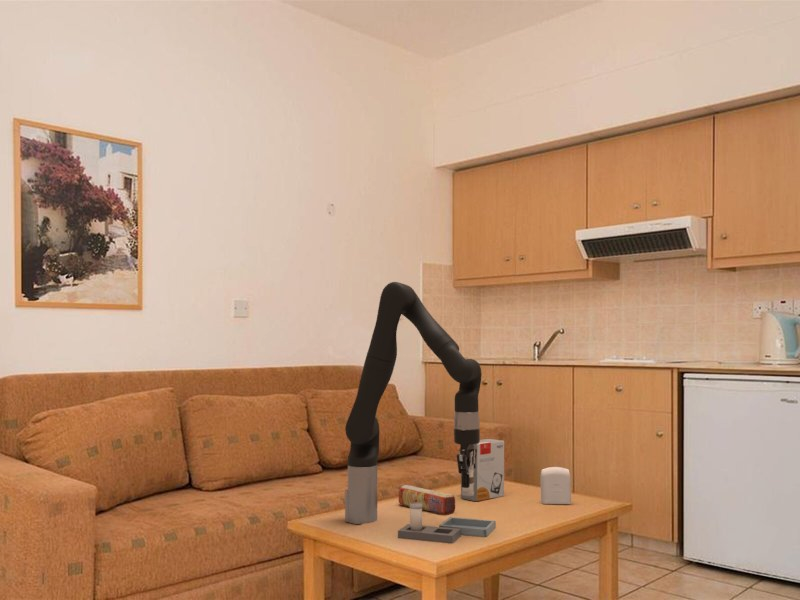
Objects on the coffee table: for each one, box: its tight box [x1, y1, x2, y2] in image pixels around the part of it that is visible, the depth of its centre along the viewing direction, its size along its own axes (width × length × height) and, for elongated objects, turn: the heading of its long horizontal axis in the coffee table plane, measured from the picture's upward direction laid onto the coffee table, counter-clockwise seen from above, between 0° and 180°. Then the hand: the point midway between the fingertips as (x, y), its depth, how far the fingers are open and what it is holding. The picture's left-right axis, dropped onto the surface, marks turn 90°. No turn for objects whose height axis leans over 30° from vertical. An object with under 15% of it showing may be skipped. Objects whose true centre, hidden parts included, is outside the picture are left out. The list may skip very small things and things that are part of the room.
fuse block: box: [397, 523, 462, 544], centre depth 209 cm, size 16×8×2 cm, turn 69°
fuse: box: [409, 502, 423, 531], centre depth 211 cm, size 4×4×9 cm
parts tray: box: [438, 516, 497, 538], centre depth 216 cm, size 14×11×2 cm
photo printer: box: [540, 466, 572, 505], centre depth 254 cm, size 10×4×12 cm, turn 84°
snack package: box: [398, 484, 456, 516], centre depth 246 cm, size 21×7×7 cm, turn 45°
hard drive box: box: [460, 438, 505, 502], centre depth 264 cm, size 16×8×20 cm, turn 132°
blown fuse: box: [462, 463, 474, 496], centre depth 217 cm, size 4×4×9 cm
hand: (467, 485), depth 217 cm, fingers closed on blown fuse, 3 cm apart
